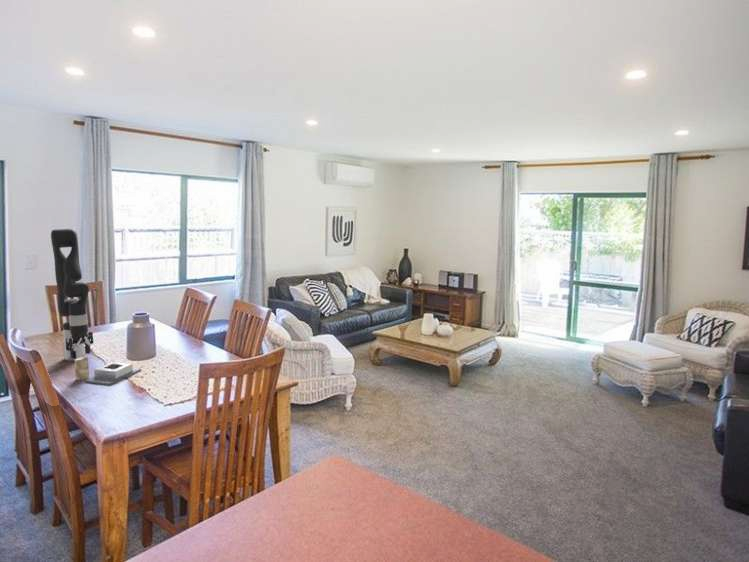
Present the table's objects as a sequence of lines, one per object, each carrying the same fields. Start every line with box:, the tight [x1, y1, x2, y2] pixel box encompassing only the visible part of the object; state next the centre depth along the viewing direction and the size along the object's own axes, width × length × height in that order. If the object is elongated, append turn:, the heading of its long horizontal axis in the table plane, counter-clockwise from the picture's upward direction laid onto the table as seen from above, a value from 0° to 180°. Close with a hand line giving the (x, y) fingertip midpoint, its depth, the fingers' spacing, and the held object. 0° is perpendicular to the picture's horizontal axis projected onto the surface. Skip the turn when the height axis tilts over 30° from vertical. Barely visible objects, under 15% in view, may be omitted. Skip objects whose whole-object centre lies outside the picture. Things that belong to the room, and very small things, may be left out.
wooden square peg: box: [74, 357, 90, 381], centre depth 243 cm, size 4×4×10 cm
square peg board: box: [84, 361, 142, 386], centre depth 248 cm, size 14×22×5 cm, turn 168°
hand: (80, 355), depth 242 cm, fingers open, 8 cm apart
